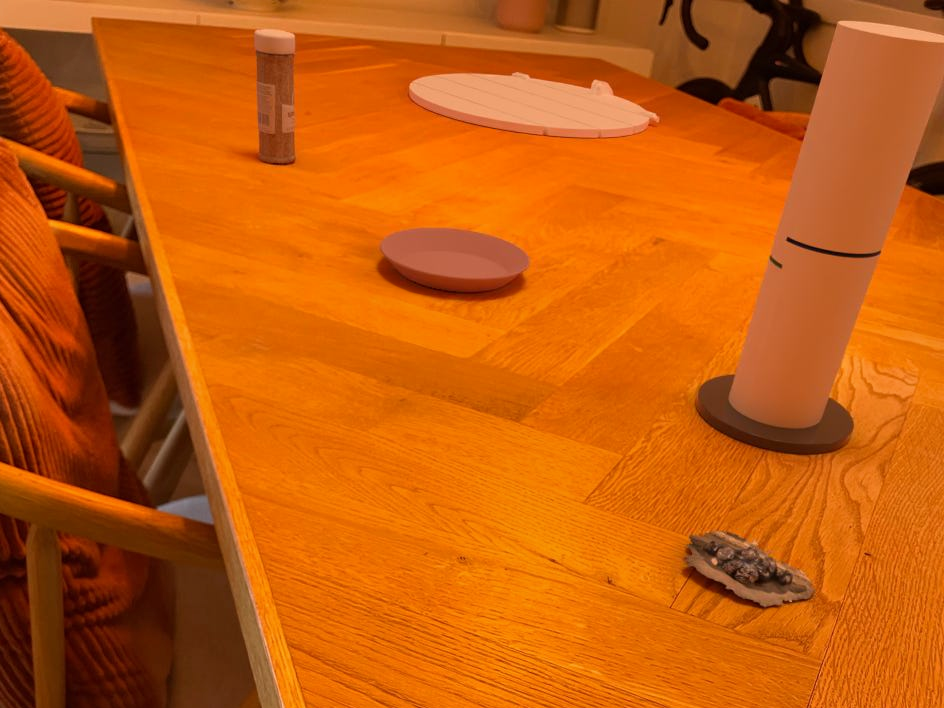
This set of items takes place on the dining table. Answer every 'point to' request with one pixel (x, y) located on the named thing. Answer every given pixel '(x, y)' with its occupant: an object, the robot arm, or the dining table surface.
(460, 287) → the plate
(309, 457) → the dining table surface
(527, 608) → the dining table surface
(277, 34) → the sprinkles bottle
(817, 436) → the coaster
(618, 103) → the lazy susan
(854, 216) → the cylindrical container
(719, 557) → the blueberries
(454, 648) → the dining table surface
